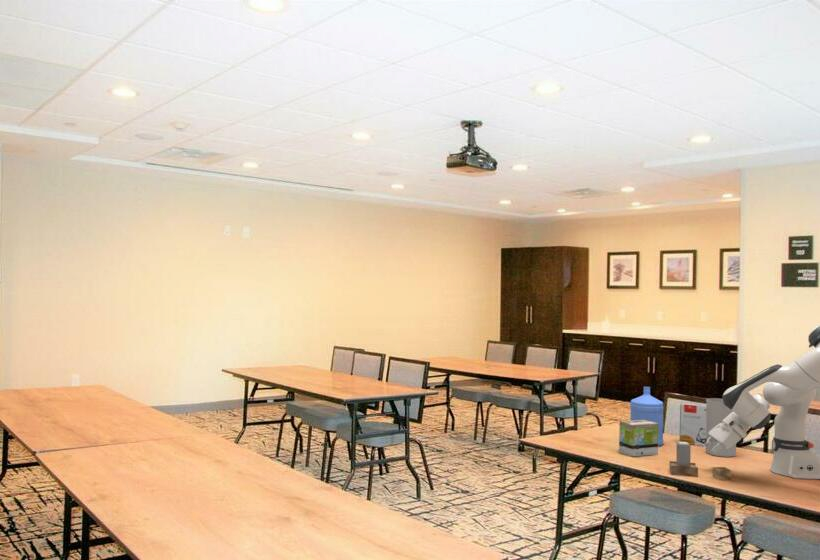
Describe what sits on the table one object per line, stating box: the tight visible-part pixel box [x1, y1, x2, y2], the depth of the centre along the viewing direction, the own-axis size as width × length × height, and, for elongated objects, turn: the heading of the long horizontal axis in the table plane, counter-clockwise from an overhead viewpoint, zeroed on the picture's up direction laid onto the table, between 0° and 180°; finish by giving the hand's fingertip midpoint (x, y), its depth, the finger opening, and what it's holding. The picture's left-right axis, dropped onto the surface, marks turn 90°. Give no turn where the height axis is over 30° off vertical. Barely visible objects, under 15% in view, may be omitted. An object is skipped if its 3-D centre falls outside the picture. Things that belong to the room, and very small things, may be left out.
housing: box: [675, 441, 692, 467], centre depth 269 cm, size 4×4×10 cm
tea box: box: [618, 420, 659, 457], centre depth 302 cm, size 15×10×15 cm
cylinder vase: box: [705, 397, 737, 458], centre depth 303 cm, size 12×12×25 cm
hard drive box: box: [679, 401, 706, 447], centre depth 324 cm, size 16×8×20 cm, turn 62°
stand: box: [669, 460, 699, 478], centre depth 269 cm, size 10×8×4 cm
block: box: [712, 466, 732, 481], centre depth 262 cm, size 5×5×4 cm
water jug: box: [629, 386, 664, 447], centre depth 324 cm, size 16×16×28 cm
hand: (708, 449), depth 268 cm, fingers open, 8 cm apart
